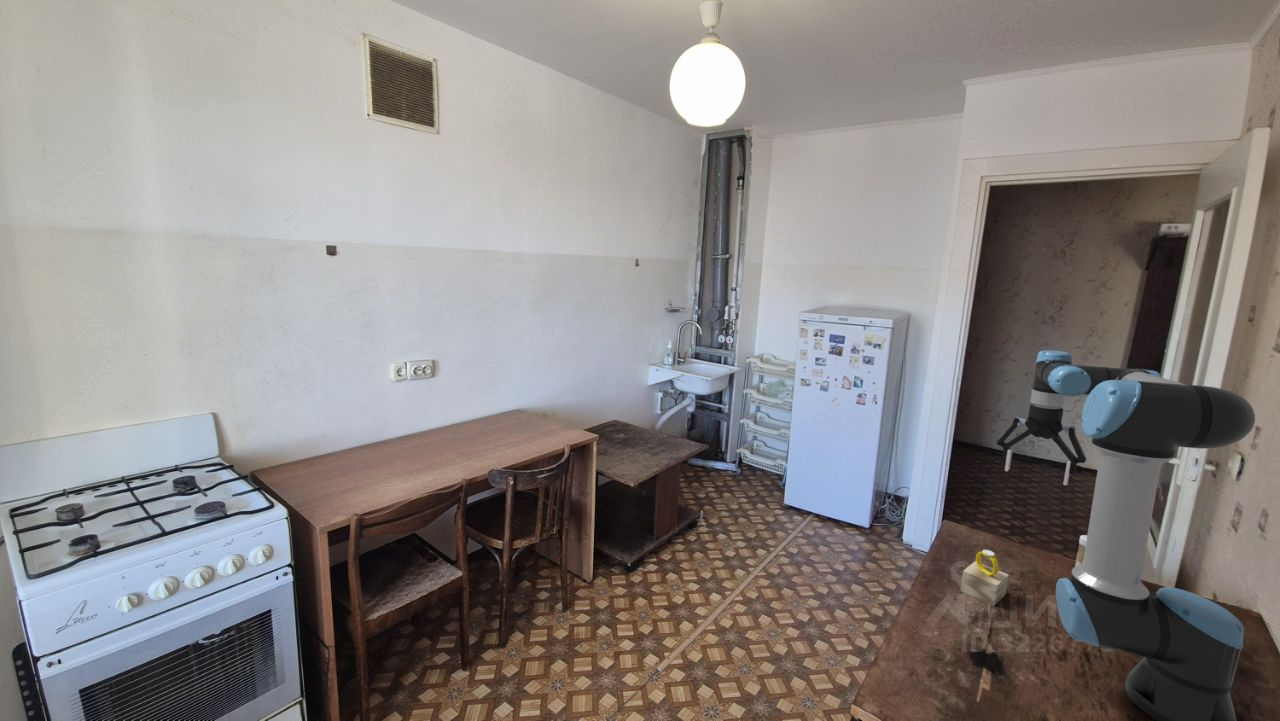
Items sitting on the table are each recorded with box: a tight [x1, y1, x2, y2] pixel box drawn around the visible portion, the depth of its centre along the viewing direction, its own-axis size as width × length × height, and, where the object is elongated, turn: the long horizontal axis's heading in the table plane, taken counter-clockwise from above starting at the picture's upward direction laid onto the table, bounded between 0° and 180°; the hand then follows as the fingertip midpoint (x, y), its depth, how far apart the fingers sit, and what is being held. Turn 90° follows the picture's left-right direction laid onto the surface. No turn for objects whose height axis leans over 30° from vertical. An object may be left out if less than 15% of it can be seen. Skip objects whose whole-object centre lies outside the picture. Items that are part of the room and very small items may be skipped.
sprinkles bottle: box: [1074, 534, 1088, 567], centre depth 141 cm, size 5×5×13 cm
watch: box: [975, 549, 1000, 576], centre depth 137 cm, size 6×3×6 cm, turn 10°
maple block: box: [959, 560, 1010, 606], centre depth 138 cm, size 8×8×6 cm
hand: (1035, 476), depth 148 cm, fingers open, 13 cm apart
